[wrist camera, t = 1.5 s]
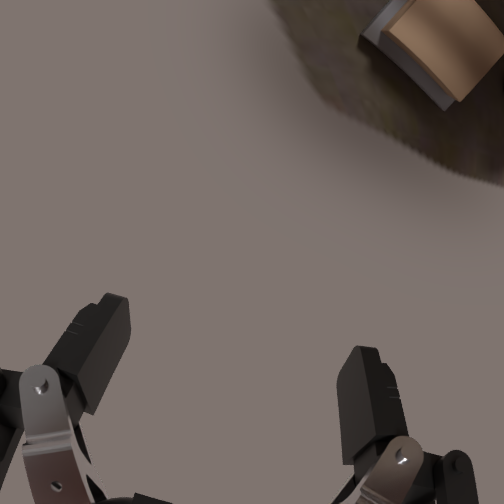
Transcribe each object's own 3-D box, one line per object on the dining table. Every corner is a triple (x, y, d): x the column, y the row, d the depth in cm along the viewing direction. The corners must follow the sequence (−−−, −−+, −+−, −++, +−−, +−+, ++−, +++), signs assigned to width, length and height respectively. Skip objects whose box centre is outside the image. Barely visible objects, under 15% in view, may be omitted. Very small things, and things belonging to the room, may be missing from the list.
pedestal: (426, -39, 15) (443, -46, 12) (500, 39, 18) (523, 45, 15) (359, 34, 23) (369, 34, 19) (439, 107, 25) (456, 120, 22)
